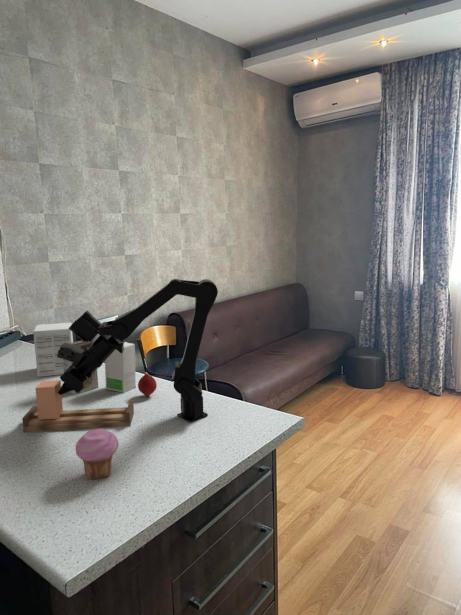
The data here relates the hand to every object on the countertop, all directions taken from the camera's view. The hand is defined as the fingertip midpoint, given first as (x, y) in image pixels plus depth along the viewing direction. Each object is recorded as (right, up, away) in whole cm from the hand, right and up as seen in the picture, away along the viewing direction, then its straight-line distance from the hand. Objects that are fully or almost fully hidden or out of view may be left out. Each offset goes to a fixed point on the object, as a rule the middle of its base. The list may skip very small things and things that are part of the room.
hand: (59, 393), depth 124 cm
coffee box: (-3, -4, +29) cm, 29 cm away
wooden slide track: (+5, -8, +2) cm, 10 cm away
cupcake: (+18, -13, -25) cm, 34 cm away
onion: (+20, -5, +21) cm, 30 cm away
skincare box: (+10, -4, +29) cm, 31 cm away
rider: (-3, -7, +1) cm, 7 cm away
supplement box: (-20, -1, +51) cm, 55 cm away
